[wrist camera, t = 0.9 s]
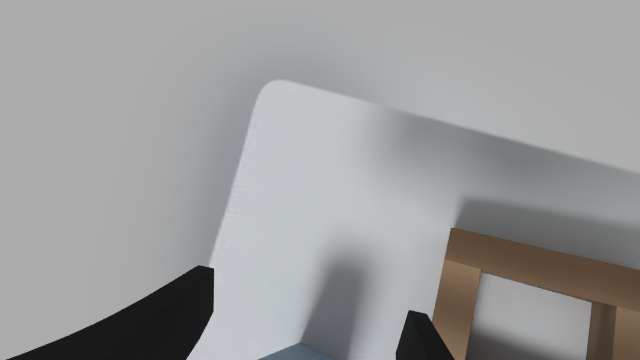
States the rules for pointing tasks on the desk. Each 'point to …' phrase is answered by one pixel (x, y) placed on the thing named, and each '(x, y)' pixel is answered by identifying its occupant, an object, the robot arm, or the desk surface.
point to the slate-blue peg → (297, 354)
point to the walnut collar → (543, 272)
